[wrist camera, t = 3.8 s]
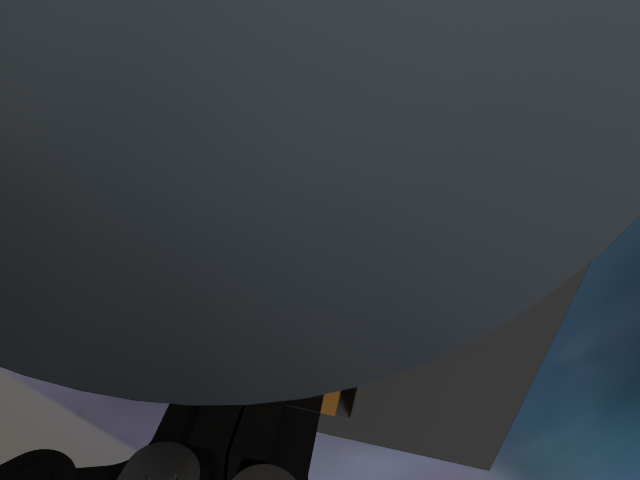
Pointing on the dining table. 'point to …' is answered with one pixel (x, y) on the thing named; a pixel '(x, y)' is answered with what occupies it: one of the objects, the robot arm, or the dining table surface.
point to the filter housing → (457, 391)
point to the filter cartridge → (299, 184)
